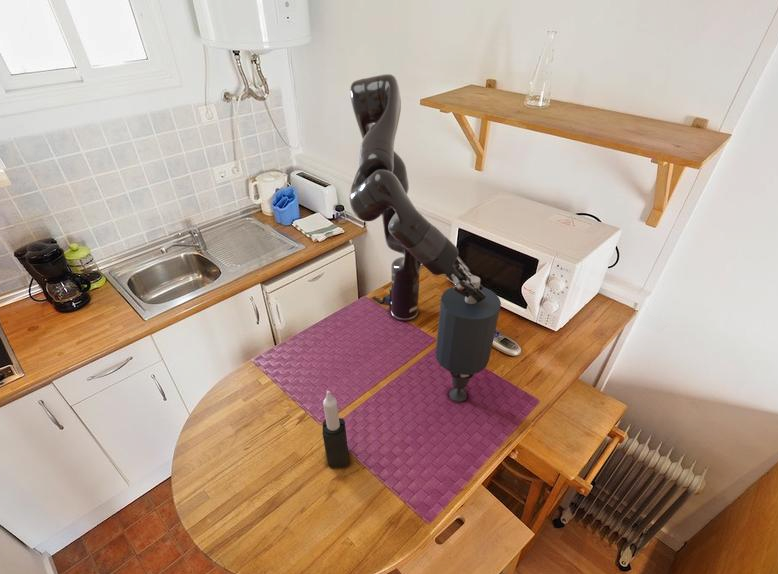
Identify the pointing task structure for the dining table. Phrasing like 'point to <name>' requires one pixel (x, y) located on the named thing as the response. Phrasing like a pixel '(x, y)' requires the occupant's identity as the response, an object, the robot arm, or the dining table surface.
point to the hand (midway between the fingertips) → (480, 294)
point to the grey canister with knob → (466, 330)
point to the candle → (334, 434)
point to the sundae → (459, 386)
